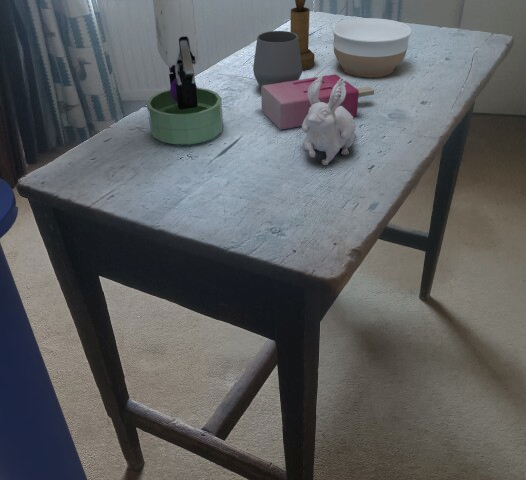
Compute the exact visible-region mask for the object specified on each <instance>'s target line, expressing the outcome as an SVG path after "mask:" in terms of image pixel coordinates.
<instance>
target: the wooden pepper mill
mask: <svg viewBox="0 0 526 480" xmlns="http://www.w3.org/2000/svg"><path fill="white" fill-rule="evenodd" d="M306 1H307V0H294V3H295V7H293V8H291V9H290V31H289V32H292V33H295V34H296V35H297V36H298V42H299V49H300V56H301V63H302V71H307V70H310V69H312V68H314V67H315V53H314V52H313V51H312V50H311V49H309V43H310V42H309V37H310V15H311V12H310V11H311V9H310V8H309V7H305V5H306Z"/></svg>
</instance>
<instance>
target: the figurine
mask: <svg viewBox="0 0 526 480" xmlns="http://www.w3.org/2000/svg"><path fill="white" fill-rule="evenodd" d="M323 76H324V74H320V75H319V76H317V77H318V79H317V80H315V81H314V82H312V84H311V85H310V86H309V88H308V99H309V102H310V104H311V107H310V108H309V111H308V115H307V116H306V118H305V119H304V122H303V124H302V126H301V130H302V132H303V133H304V134H305V136H304V138H303V140H302V146H303V148H304V149H305V150H306V151H307V152H308V155H309V157H310V158H316V156H317V154H316V151H315V150H317V151H319V152H324V153H325V155H326V158H325V159H322V160H321V165H323V166H328V165H329V164H330V162H332V160H333V159H334V158H335V156H336V155H337V154H338V153H339V152H340V149H341V153H340V154H341V155H343V156H348V155H350V152H349V148H350V147H352V145H353V143H354V141H355V139H356V133H355V132H356V127H357V124H356V121H355V119H354V117H353V116H351V114H350V113H349V112H348V111H347V110H346V109H345V108H344V107H343V106H339V105H340V104H341V103H342V102H343V101H344V99H345V96H346V88H345V85H346V84H345V83H344V82H345V81H346V80H345V79H343V77H341V78H340V79H339V81H337V83H336V85H335V86H334V87H333V89H332V92H331V95H330V99H329V103H328V104H326V103H324V102H320V101H319V99H318V96H319V91H320V88H321V85H322V79H323ZM342 79H343V80H342ZM341 80H342V81H341ZM338 106H339V107H338Z"/></svg>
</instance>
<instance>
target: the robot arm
mask: <svg viewBox="0 0 526 480" xmlns="http://www.w3.org/2000/svg"><path fill="white" fill-rule="evenodd" d="M193 1H194V0H152V2H153V16H154V25H155V36H156V47H157V51H158V54H159V56H160V57H161V59H162V61H163V62H164V64H165V66H167V67H168V70H169V74H168V76H169V83H170V84H169V86H170V87H171V83H172V82H173V80H174V79H175V78H176V79H177V84H175V86H176V95H177V104H178V108H179V109H180V110H181V109H188V108H195V107H197V106H198V103H197V92H196V86H197V83H196V77H195V69H194V65H196V64H197V63H198V61H199V48H198V47H199V46H198V37H197V26H196V18H195V8H194V2H193Z"/></svg>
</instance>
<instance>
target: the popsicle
mask: <svg viewBox="0 0 526 480" xmlns="http://www.w3.org/2000/svg"><path fill="white" fill-rule="evenodd" d="M318 77H319V76H315V77H309V78H302V79H299V80H295V81H289V82H283V83H276V84H270V85H263V86H262V87H261V88H260V91H261V93H260V95H261V112H262V113H263V114H264V115H265V116H266V117H267V118H268V119H269V120H270V121H271V122H272V124H274V125H275V126H276V127H277V128H278V129H279V130H281V131H282V130H288V129H294V128H297V127H298V128H300V127H302V124H303V122H304V119H305V118H306V116H307V115H308V111H309V108H310V107H311V104H310V102H309V99H308V88H309V86H310V85H311V84H312V82H314V81H315V80H317V79H318ZM340 78H342V77H341V76H339V75H338V74H336V73H333V74H328V75H323V79H322V85H321V88H320V91H319V96H318V99H319V101H320V102H324V103H326V104H328V103H329V99H330V95H331V92H332V89H333V87H334V86H335V85H336V83H337V81H339V79H340ZM342 80H344V79H343V78H342ZM342 80H341V81H342ZM344 83H345V84H346V85H345V88H346V96H345V99H344V101H343V102H342V103H341V104H340V105H339V106H343V107H344V108H345V109H346V110H347V111H348V112H349V113H350V114H351V116H353V118H355V117H357V116H358V106H359V98H361V97H362V98H363V97H368V96H369V97H370V96H373V95H375V88H373V87H371V86H368V85H367V86H362V87H356V86H355V87H354V85H352V84H351V83H349V82H348V81H346V80H345V82H344ZM339 106H338V107H339Z"/></svg>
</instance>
